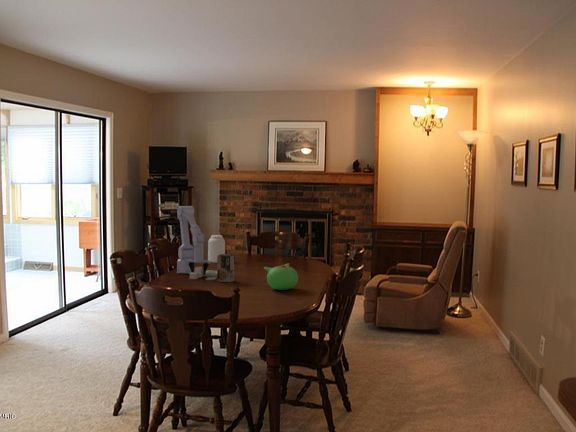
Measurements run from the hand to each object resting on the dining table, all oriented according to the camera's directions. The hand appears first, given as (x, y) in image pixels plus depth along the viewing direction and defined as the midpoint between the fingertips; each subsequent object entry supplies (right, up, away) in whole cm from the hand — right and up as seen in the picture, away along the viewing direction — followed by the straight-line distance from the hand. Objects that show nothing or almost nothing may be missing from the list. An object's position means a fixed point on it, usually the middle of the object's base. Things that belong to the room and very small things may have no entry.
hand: (198, 274), depth 321 cm
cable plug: (-2, -2, -6) cm, 6 cm away
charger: (0, -2, 0) cm, 2 cm away
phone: (+9, -3, -7) cm, 12 cm away
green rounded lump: (+53, -5, -32) cm, 62 cm away
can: (+3, +3, +61) cm, 61 cm away
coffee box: (+19, -3, -11) cm, 22 cm away
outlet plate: (+9, -1, +7) cm, 11 cm away
